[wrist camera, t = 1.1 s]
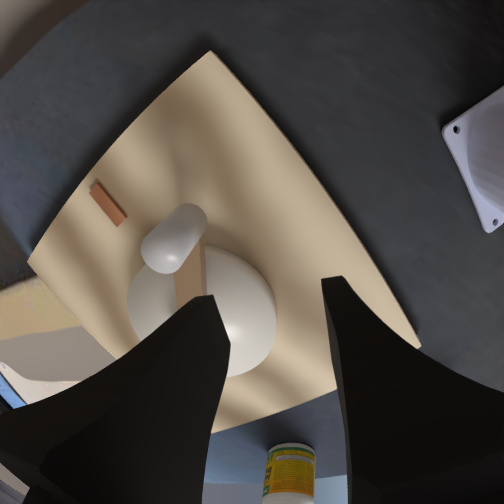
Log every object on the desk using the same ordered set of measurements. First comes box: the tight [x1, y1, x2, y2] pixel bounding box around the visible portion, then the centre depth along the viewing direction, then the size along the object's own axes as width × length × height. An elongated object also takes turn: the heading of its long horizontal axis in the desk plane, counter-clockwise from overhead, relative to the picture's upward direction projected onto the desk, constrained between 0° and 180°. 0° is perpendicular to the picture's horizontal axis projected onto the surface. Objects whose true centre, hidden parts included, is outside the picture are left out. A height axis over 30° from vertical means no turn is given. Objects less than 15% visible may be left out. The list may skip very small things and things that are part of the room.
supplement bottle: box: [262, 443, 315, 504], centre depth 26 cm, size 5×5×10 cm
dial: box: [127, 203, 277, 377], centre depth 18 cm, size 13×10×6 cm
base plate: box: [27, 51, 421, 433], centre depth 22 cm, size 22×24×2 cm
